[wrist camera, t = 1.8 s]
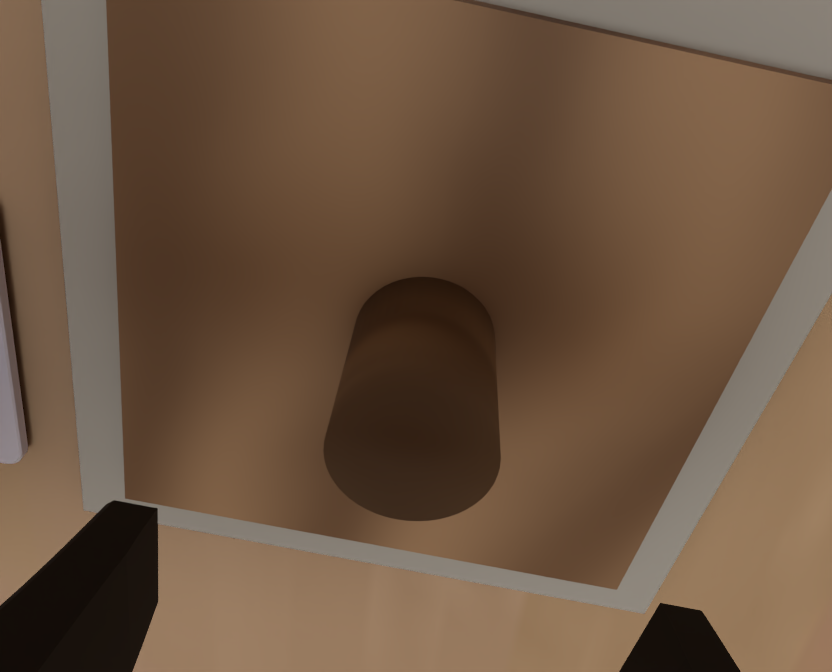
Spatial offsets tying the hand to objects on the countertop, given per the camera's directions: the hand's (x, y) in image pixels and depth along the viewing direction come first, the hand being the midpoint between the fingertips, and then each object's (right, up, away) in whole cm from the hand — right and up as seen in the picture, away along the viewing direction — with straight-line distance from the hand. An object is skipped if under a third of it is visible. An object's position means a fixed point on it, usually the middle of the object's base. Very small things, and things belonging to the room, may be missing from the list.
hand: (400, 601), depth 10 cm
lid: (0, +4, +6) cm, 8 cm away
